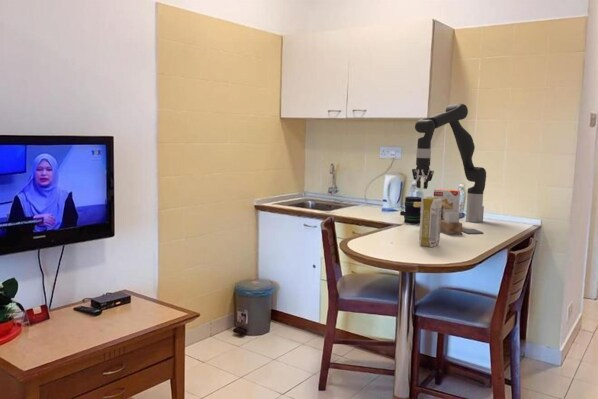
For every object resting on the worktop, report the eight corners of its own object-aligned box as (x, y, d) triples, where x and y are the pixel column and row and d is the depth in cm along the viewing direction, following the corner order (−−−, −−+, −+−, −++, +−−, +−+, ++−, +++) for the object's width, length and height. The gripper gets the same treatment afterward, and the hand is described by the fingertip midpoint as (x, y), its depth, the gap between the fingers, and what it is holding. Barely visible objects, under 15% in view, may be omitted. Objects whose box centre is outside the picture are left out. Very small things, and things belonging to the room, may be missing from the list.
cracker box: (431, 224, 306) (433, 189, 304) (433, 222, 312) (435, 188, 309) (455, 227, 300) (458, 190, 297) (458, 225, 305) (460, 189, 302)
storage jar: (419, 221, 317) (420, 196, 315) (421, 224, 307) (423, 198, 305) (402, 220, 318) (404, 196, 316) (404, 223, 308) (405, 198, 306)
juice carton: (425, 242, 257) (428, 194, 254) (441, 245, 252) (443, 195, 249) (417, 245, 250) (419, 195, 246) (432, 248, 245) (435, 197, 242)
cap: (454, 221, 284) (454, 212, 283) (458, 222, 279) (459, 213, 279) (444, 221, 283) (444, 212, 282) (448, 223, 278) (448, 213, 277)
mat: (473, 230, 291) (473, 228, 291) (483, 233, 281) (483, 232, 281) (458, 230, 289) (459, 229, 289) (468, 234, 280) (468, 232, 279)
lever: (442, 217, 295) (443, 201, 294) (445, 218, 292) (446, 202, 291) (412, 217, 292) (413, 201, 291) (414, 218, 289) (415, 202, 288)
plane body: (444, 227, 298) (445, 216, 297) (462, 234, 278) (463, 223, 277) (430, 227, 296) (431, 217, 296) (447, 235, 276) (448, 223, 276)
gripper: (438, 157, 280) (436, 189, 283) (418, 156, 292) (416, 186, 294) (429, 157, 276) (427, 190, 278) (408, 156, 287) (407, 187, 290)
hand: (421, 188), depth 286 cm, fingers open, 4 cm apart
